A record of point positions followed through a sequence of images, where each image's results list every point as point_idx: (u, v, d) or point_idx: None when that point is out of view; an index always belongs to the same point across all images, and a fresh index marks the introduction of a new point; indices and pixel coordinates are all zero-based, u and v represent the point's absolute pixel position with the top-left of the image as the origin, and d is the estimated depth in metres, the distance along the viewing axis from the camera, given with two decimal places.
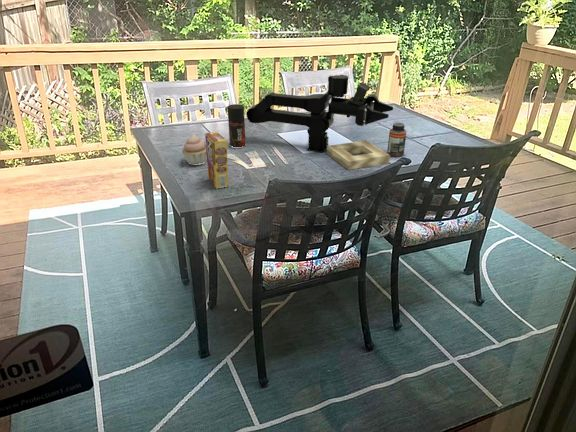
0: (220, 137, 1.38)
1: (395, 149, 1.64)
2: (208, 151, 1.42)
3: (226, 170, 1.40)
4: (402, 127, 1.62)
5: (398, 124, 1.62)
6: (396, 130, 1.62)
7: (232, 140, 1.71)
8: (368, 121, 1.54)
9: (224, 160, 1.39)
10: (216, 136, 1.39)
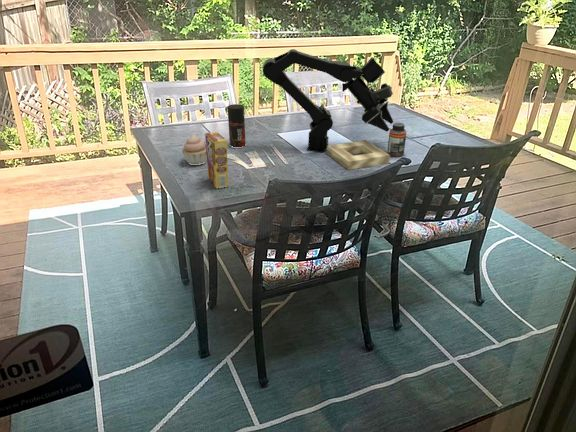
0: (220, 137, 1.38)
1: (395, 149, 1.64)
2: (208, 151, 1.42)
3: (226, 170, 1.40)
4: (402, 127, 1.62)
5: (398, 124, 1.62)
6: (396, 130, 1.62)
7: (232, 140, 1.71)
8: (371, 122, 1.59)
9: (224, 160, 1.39)
10: (216, 136, 1.39)
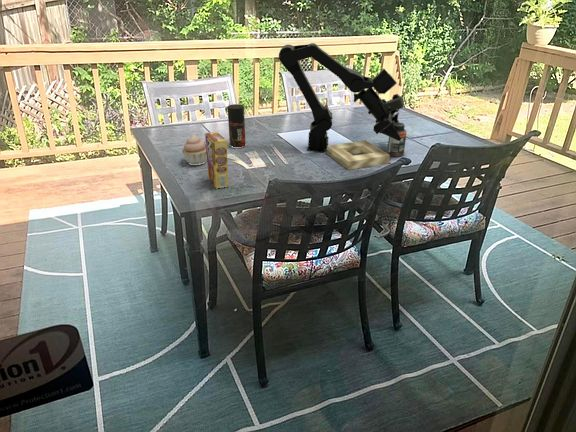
0: (220, 137, 1.38)
1: (395, 148, 1.64)
2: (208, 151, 1.42)
3: (226, 170, 1.40)
4: (402, 127, 1.62)
5: (398, 124, 1.62)
6: (396, 130, 1.62)
7: (232, 140, 1.71)
8: (383, 131, 1.61)
9: (224, 160, 1.39)
10: (216, 136, 1.39)
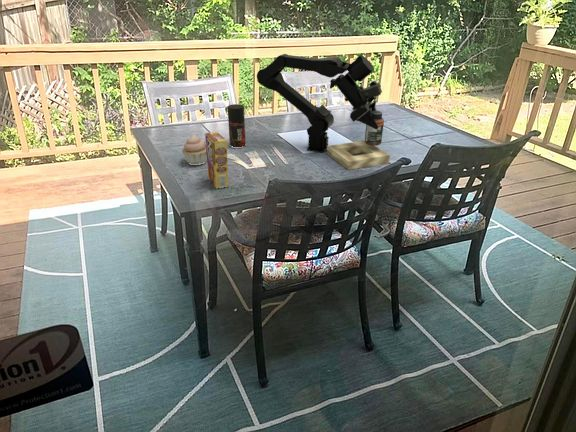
0: (220, 137, 1.38)
1: (372, 137, 1.60)
2: (208, 151, 1.42)
3: (226, 170, 1.40)
4: (380, 115, 1.57)
5: (375, 112, 1.58)
6: None
7: (232, 140, 1.71)
8: (360, 119, 1.56)
9: (224, 160, 1.39)
10: (216, 136, 1.39)
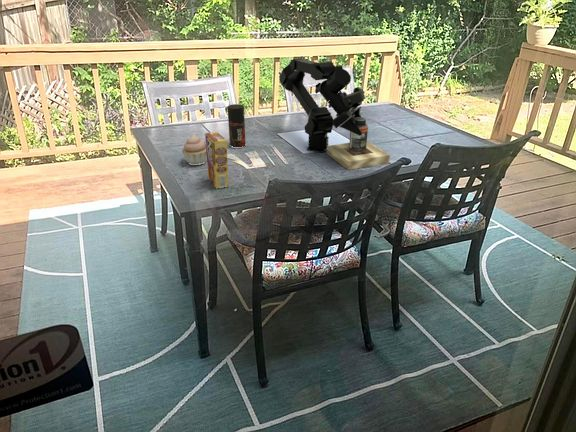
0: (220, 137, 1.38)
1: (356, 144, 1.59)
2: (208, 151, 1.42)
3: (226, 170, 1.40)
4: (363, 122, 1.56)
5: (359, 119, 1.57)
6: (357, 125, 1.57)
7: (232, 140, 1.71)
8: (343, 126, 1.55)
9: (224, 160, 1.39)
10: (216, 136, 1.39)
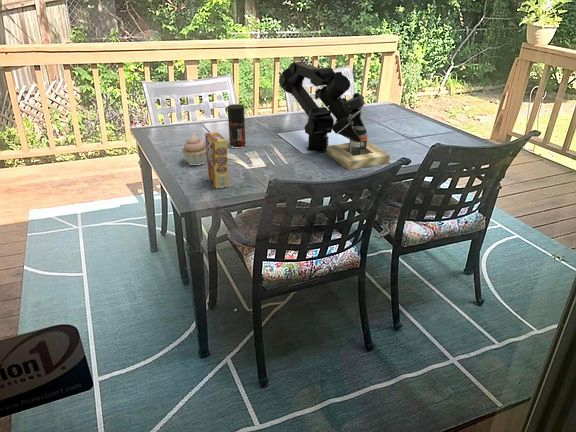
0: (220, 137, 1.38)
1: (356, 153, 1.61)
2: (208, 151, 1.42)
3: (226, 170, 1.40)
4: (362, 131, 1.58)
5: (358, 128, 1.59)
6: None
7: (232, 140, 1.71)
8: (342, 133, 1.55)
9: (224, 160, 1.39)
10: (216, 136, 1.39)
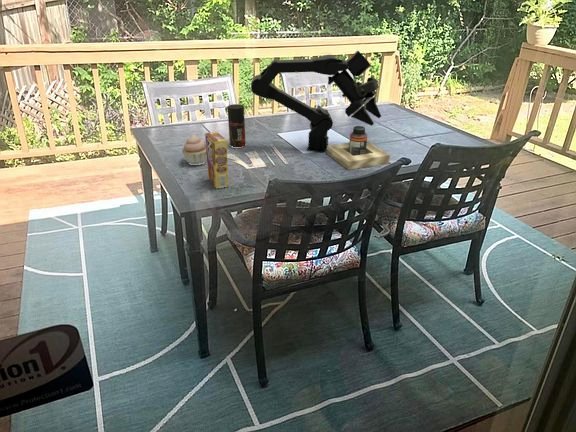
0: (220, 137, 1.38)
1: (356, 153, 1.61)
2: (208, 151, 1.42)
3: (226, 170, 1.40)
4: (362, 131, 1.58)
5: (358, 127, 1.59)
6: (356, 133, 1.58)
7: (232, 140, 1.71)
8: (355, 116, 1.58)
9: (224, 160, 1.39)
10: (216, 136, 1.39)
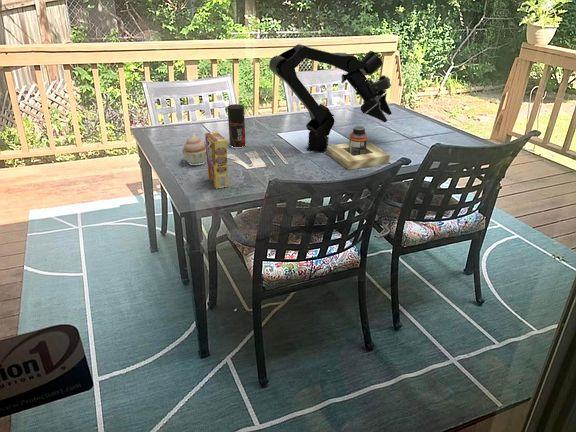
0: (220, 137, 1.38)
1: (356, 153, 1.61)
2: (208, 151, 1.42)
3: (226, 170, 1.40)
4: (362, 131, 1.58)
5: (358, 127, 1.59)
6: (356, 133, 1.58)
7: (232, 140, 1.71)
8: (369, 113, 1.63)
9: (224, 160, 1.39)
10: (216, 136, 1.39)
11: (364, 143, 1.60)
